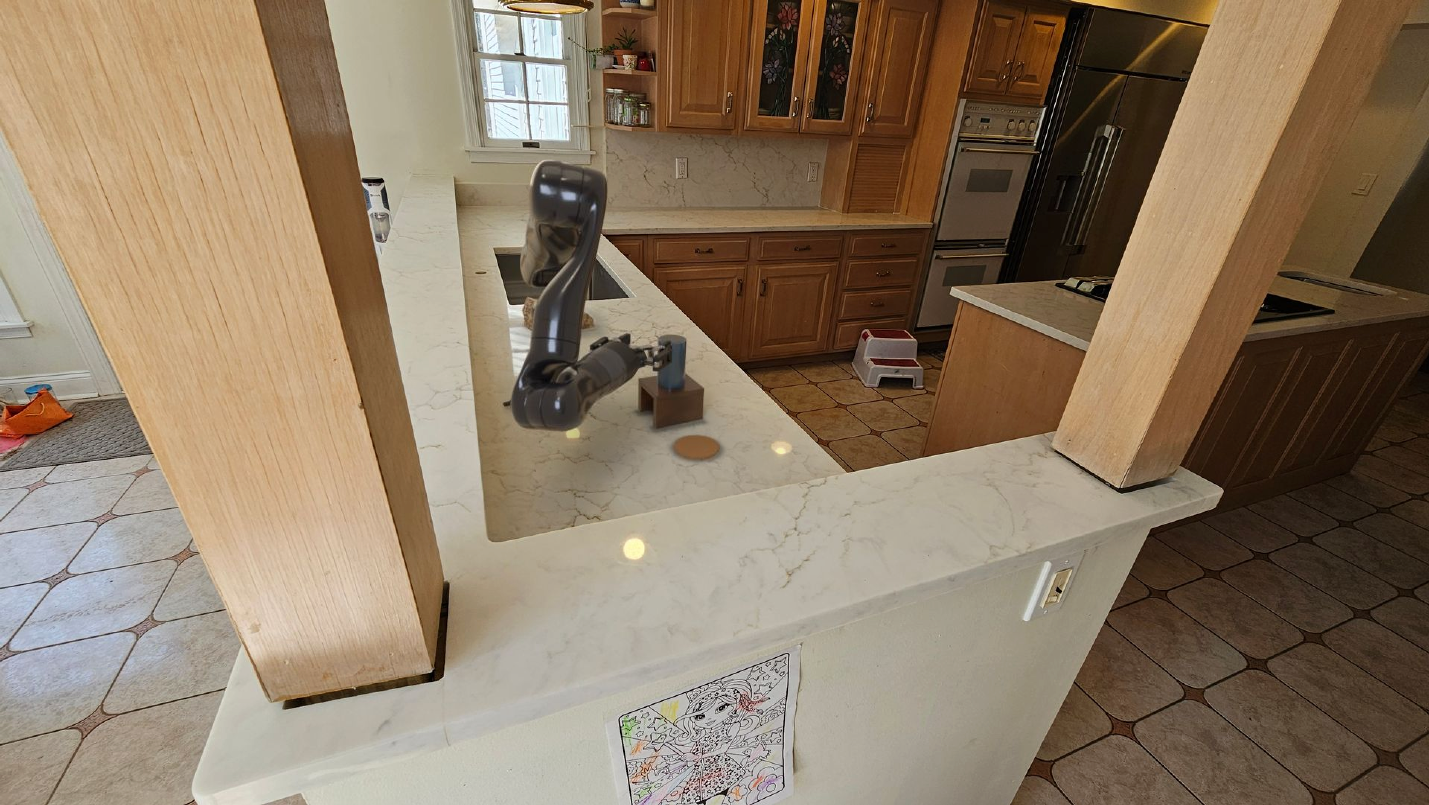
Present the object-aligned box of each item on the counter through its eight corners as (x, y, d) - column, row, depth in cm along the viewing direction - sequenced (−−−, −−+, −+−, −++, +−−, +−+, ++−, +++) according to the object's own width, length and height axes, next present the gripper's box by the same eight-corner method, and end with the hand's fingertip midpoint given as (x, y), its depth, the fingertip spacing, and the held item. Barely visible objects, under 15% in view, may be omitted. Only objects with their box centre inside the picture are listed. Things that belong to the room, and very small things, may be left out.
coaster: (686, 463, 116) (686, 460, 116) (666, 442, 123) (666, 439, 123) (727, 454, 120) (727, 451, 120) (706, 434, 127) (706, 431, 127)
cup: (663, 390, 127) (664, 345, 123) (652, 380, 132) (653, 335, 128) (689, 386, 130) (691, 341, 126) (677, 376, 134) (679, 332, 130)
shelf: (656, 430, 128) (656, 396, 124) (638, 411, 136) (638, 378, 132) (702, 421, 133) (704, 388, 129) (682, 403, 141) (683, 371, 137)
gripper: (644, 355, 98) (683, 328, 112) (568, 341, 102) (615, 317, 116) (644, 397, 101) (682, 366, 115) (570, 382, 106) (615, 354, 120)
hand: (648, 341), depth 116 cm, fingers open, 8 cm apart
